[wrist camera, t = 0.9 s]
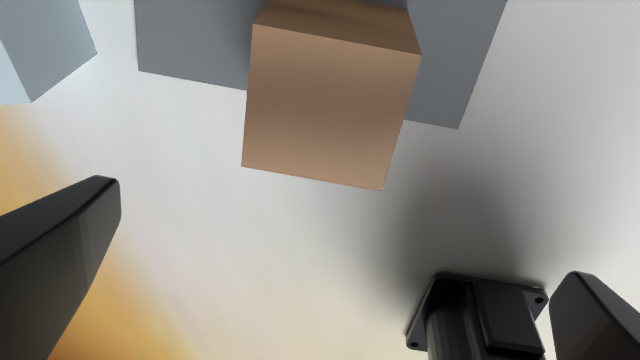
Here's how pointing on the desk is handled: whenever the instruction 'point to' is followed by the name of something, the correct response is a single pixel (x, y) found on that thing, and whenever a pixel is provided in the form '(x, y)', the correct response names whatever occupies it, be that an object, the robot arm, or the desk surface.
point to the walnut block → (328, 89)
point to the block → (40, 46)
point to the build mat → (422, 3)
